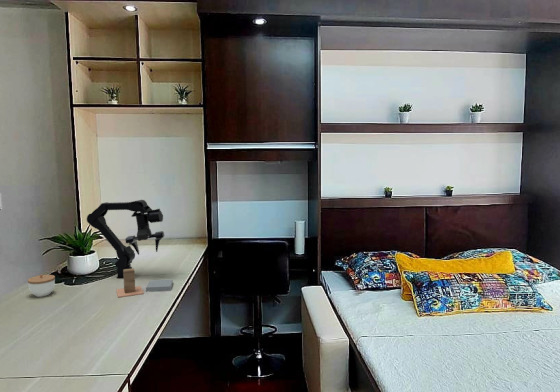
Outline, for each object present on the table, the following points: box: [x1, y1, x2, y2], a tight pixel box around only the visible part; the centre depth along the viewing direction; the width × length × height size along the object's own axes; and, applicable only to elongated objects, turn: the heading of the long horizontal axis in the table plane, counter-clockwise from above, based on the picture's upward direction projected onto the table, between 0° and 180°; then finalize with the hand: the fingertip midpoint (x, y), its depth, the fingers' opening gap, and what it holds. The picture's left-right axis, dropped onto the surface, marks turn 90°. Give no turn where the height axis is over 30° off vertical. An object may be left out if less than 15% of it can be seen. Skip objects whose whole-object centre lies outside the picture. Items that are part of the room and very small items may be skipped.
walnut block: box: [123, 267, 136, 293], centre depth 186 cm, size 4×4×10 cm
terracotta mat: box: [116, 285, 145, 298], centre depth 186 cm, size 11×11×1 cm
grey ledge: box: [145, 278, 174, 292], centre depth 193 cm, size 11×11×2 cm
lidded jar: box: [27, 274, 56, 298], centre depth 183 cm, size 11×11×9 cm
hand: (147, 253), depth 208 cm, fingers open, 9 cm apart
